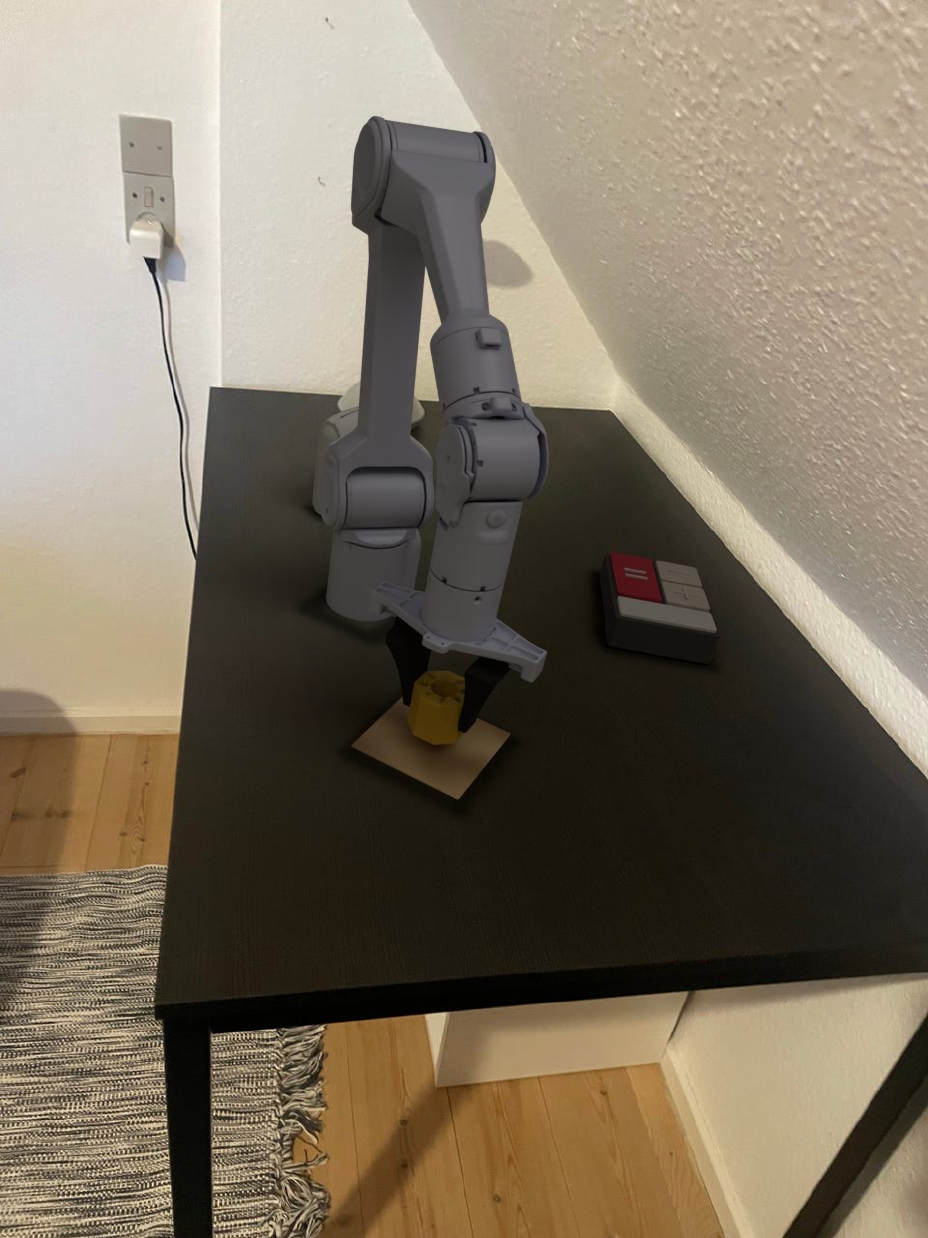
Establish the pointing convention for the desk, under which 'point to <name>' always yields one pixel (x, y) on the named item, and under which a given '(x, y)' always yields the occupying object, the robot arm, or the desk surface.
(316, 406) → the desk surface
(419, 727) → the sleeve
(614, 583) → the calculator
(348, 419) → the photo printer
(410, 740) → the stand
